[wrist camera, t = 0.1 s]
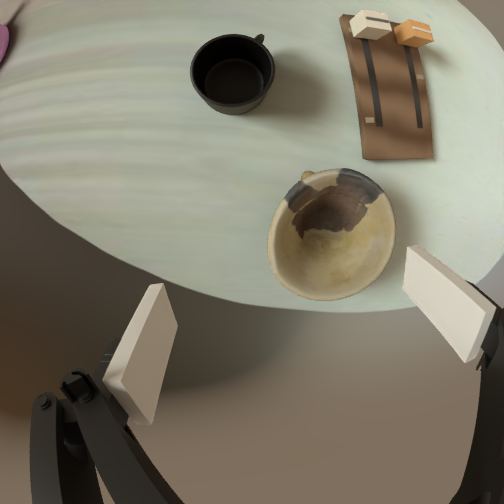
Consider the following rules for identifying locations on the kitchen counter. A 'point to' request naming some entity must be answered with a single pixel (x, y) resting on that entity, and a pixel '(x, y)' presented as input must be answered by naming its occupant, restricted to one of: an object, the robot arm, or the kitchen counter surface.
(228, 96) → the mug
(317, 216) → the bowl
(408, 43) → the orange fader knob
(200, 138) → the kitchen counter surface
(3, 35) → the teapot
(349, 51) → the console board
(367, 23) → the cream fader knob
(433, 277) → the robot arm
